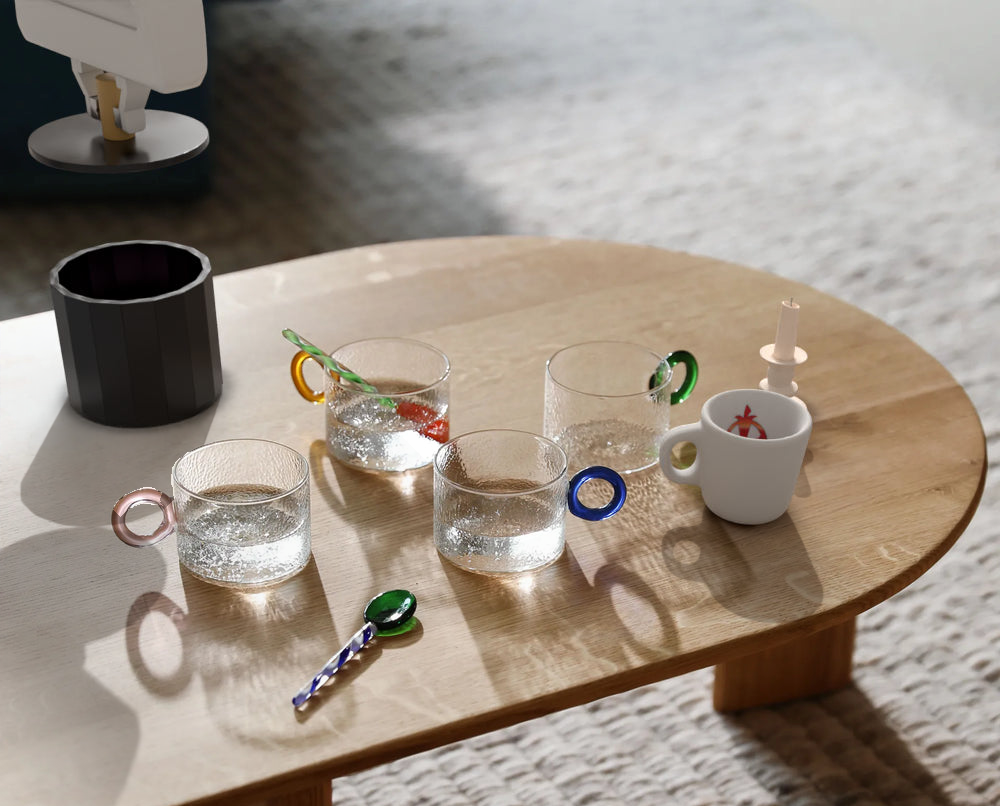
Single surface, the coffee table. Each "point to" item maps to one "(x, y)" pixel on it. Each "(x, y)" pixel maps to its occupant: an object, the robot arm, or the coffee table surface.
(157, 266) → the pot
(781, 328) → the candlestick
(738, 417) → the cup
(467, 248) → the coffee table surface
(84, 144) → the lid
